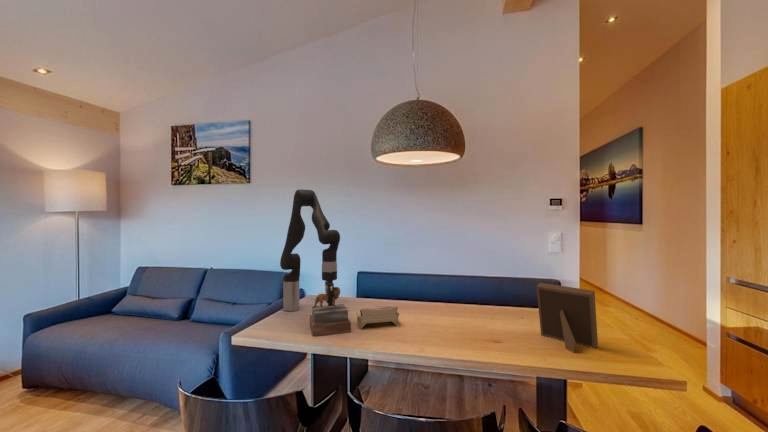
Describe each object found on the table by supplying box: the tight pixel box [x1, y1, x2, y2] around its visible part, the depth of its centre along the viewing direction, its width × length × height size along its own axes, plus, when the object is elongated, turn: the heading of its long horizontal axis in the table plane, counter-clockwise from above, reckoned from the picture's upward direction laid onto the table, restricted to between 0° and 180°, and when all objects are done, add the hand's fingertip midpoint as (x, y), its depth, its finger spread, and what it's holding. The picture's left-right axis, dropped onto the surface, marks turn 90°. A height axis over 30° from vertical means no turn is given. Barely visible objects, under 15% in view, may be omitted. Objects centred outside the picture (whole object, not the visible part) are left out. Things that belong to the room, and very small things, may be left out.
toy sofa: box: [356, 306, 400, 330], centre depth 166 cm, size 21×9×10 cm, turn 105°
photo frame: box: [536, 282, 599, 353], centre depth 141 cm, size 15×22×25 cm
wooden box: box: [309, 303, 352, 337], centre depth 161 cm, size 16×18×10 cm
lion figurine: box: [312, 286, 341, 308], centre depth 160 cm, size 15×5×9 cm, turn 127°
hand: (329, 304), depth 161 cm, fingers closed on lion figurine, 4 cm apart
